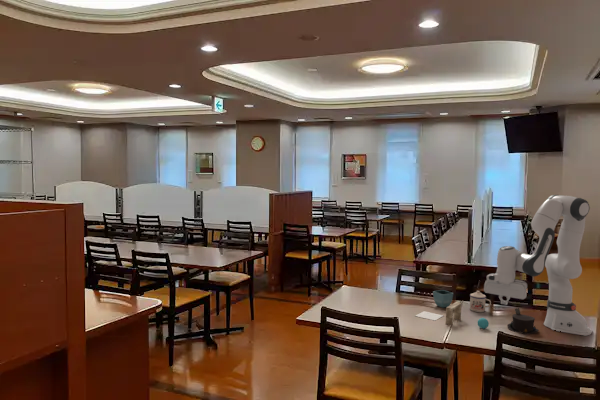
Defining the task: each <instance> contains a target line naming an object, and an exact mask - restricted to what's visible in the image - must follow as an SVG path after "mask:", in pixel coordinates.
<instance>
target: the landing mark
mask: <svg viewBox="0 0 600 400" xmlns="http://www.w3.org/2000/svg"><path fill="white" fill-rule="evenodd" d="M414 317H418V318H421V319H426V320H430V321H433V322H434V321H435V322H436V321H437V320H439V319H441V318H443V317H444V315H443V314H437V313H434V312H429V311H425V310H423V311H422V312H420V313H418V314H416V315H414Z"/></svg>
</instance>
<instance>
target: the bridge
mask: <svg viewBox="0 0 600 400" xmlns="http://www.w3.org/2000/svg"><path fill="white" fill-rule="evenodd" d="M445 311H446V312H445V325H448V326H452V325H453V320H459V321H460V320H461V317H462V302H457V301H456V302H454V303H451V304H450V305H449V306H448V307H445Z"/></svg>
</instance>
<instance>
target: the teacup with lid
mask: <svg viewBox="0 0 600 400" xmlns="http://www.w3.org/2000/svg"><path fill="white" fill-rule="evenodd" d="M469 297H470V299H469V310H470V311H472V312H476V313H483V312H485V311H486V308H489V307H491V305H492V301H491V299H488V298H487V296H486V295H485V294H483V293H482V292H481V290H476V291H475V292H473V293H470V294H469ZM486 301H488V302H489V304H488V305H486Z"/></svg>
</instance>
